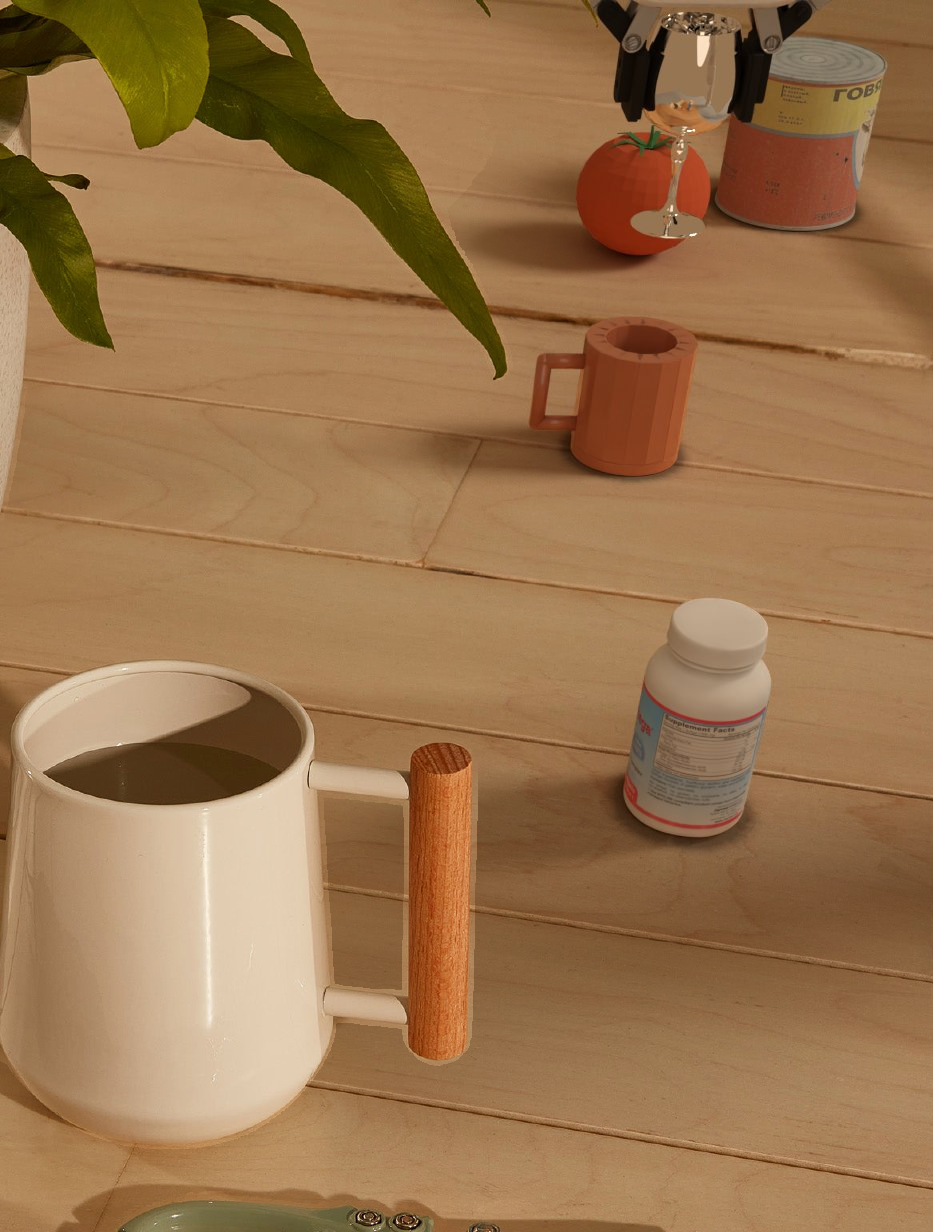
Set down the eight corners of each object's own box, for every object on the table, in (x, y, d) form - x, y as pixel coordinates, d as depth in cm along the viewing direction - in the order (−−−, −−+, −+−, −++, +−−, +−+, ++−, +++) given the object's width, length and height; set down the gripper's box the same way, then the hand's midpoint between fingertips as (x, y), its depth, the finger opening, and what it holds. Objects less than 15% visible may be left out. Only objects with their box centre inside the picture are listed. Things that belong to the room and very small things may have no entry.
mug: (667, 427, 139) (686, 316, 134) (685, 477, 133) (706, 363, 128) (519, 425, 139) (533, 314, 134) (531, 474, 133) (546, 361, 129)
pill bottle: (638, 759, 109) (672, 577, 102) (753, 789, 106) (796, 605, 99) (607, 823, 104) (641, 637, 97) (727, 855, 102) (770, 668, 95)
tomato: (634, 216, 168) (653, 94, 162) (727, 257, 161) (750, 131, 155) (541, 244, 164) (557, 119, 158) (632, 287, 157) (653, 158, 151)
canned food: (849, 238, 164) (882, 87, 157) (706, 221, 167) (732, 72, 160) (859, 189, 173) (891, 44, 165) (723, 173, 176) (748, 30, 168)
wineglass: (604, 230, 125) (632, 28, 117) (642, 200, 128) (672, 3, 121) (694, 250, 122) (729, 45, 115) (730, 219, 126) (766, 18, 118)
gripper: (588, -206, 107) (546, 136, 118) (920, -206, 107) (847, 138, 118) (569, -235, 113) (531, 93, 124) (883, -235, 113) (817, 94, 124)
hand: (685, 111), depth 121 cm, fingers closed on wineglass, 5 cm apart
